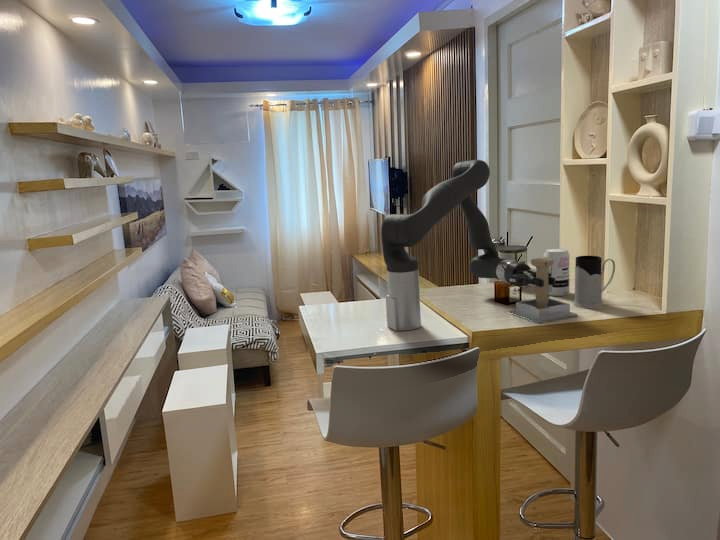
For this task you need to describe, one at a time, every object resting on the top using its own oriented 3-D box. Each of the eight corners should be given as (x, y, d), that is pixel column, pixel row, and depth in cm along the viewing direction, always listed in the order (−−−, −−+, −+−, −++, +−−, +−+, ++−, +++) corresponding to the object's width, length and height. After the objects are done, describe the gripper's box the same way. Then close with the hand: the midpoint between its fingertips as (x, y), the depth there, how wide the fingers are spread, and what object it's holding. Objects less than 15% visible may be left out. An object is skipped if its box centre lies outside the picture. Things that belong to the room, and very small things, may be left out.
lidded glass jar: (504, 281, 227) (503, 244, 225) (531, 283, 222) (530, 245, 219) (494, 287, 219) (493, 249, 216) (522, 289, 213) (522, 250, 211)
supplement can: (548, 290, 210) (548, 247, 207) (572, 292, 205) (572, 248, 202) (540, 295, 203) (540, 251, 201) (565, 297, 199) (565, 252, 196)
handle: (556, 309, 179) (556, 260, 176) (535, 311, 178) (535, 262, 175) (548, 305, 183) (548, 257, 180) (528, 307, 182) (528, 259, 179)
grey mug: (567, 303, 191) (567, 257, 188) (604, 297, 195) (604, 252, 192) (585, 309, 183) (585, 261, 180) (623, 303, 187) (624, 256, 184)
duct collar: (538, 323, 172) (538, 311, 171) (509, 313, 185) (509, 301, 184) (577, 316, 177) (577, 304, 176) (546, 306, 190) (546, 295, 189)
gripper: (494, 264, 189) (528, 273, 173) (531, 258, 194) (568, 267, 178) (494, 287, 190) (528, 298, 174) (531, 281, 195) (568, 291, 179)
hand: (548, 282), depth 176 cm, fingers closed on handle, 3 cm apart
